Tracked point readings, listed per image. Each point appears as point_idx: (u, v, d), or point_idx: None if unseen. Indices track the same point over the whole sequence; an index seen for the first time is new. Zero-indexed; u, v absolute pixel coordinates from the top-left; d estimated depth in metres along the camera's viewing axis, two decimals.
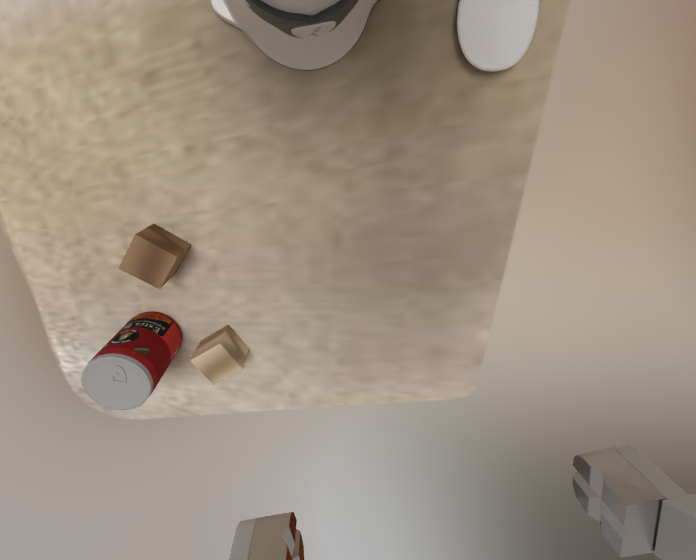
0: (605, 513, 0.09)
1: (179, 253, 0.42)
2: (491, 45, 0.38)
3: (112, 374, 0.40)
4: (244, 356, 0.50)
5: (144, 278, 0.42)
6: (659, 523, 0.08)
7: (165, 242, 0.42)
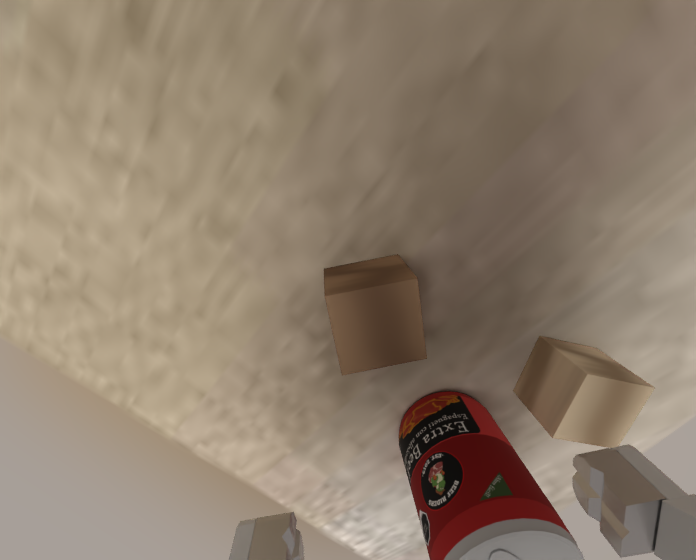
0: (605, 513, 0.09)
1: (409, 272, 0.19)
2: None
3: None
4: (618, 365, 0.24)
5: (391, 360, 0.20)
6: (658, 522, 0.08)
7: (370, 275, 0.20)
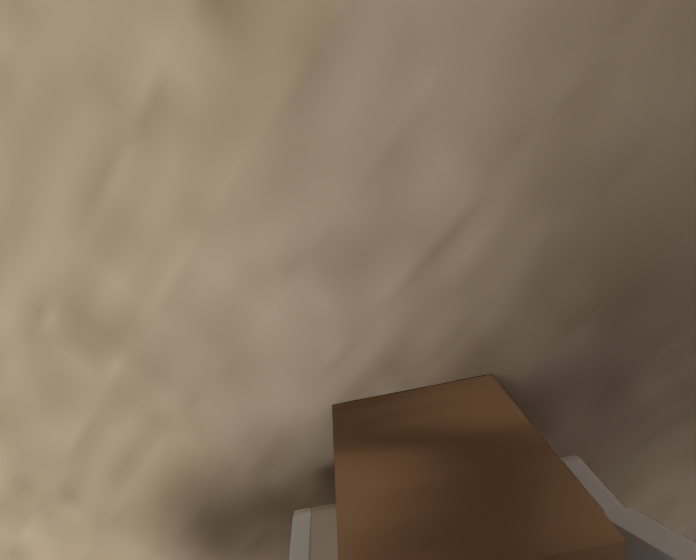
0: None
1: (573, 486, 0.07)
2: None
3: None
4: None
5: None
6: None
7: (455, 473, 0.08)
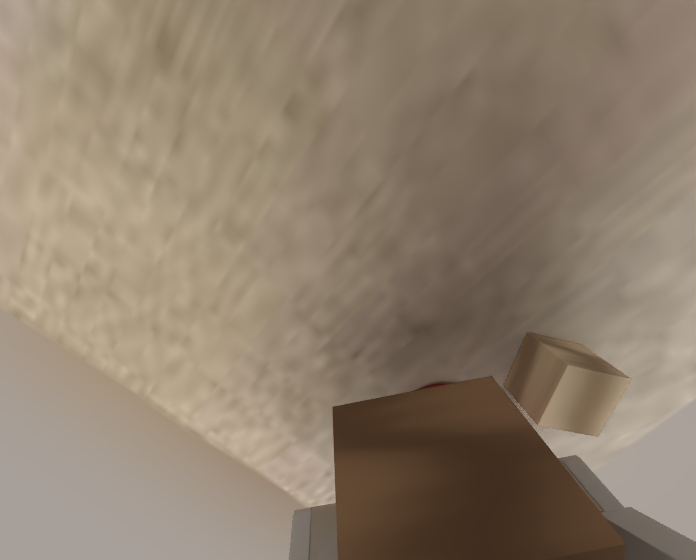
0: None
1: (573, 488, 0.07)
2: None
3: None
4: (599, 359, 0.26)
5: None
6: None
7: (455, 475, 0.08)
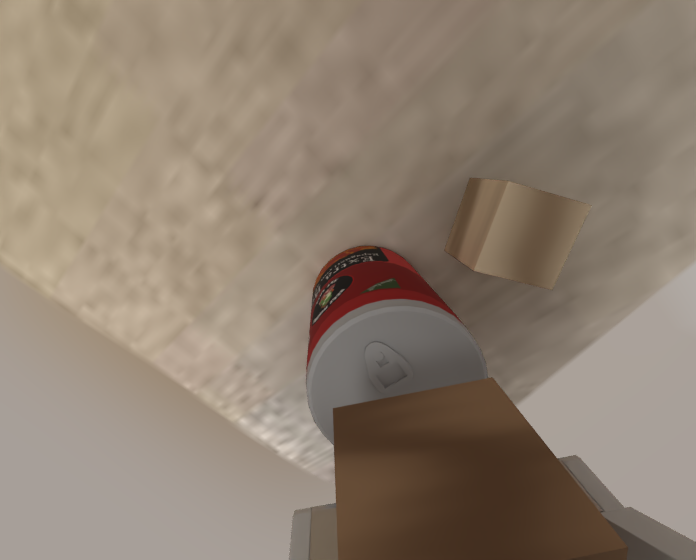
0: None
1: (575, 491, 0.07)
2: None
3: (371, 375, 0.14)
4: None
5: None
6: None
7: (456, 478, 0.08)
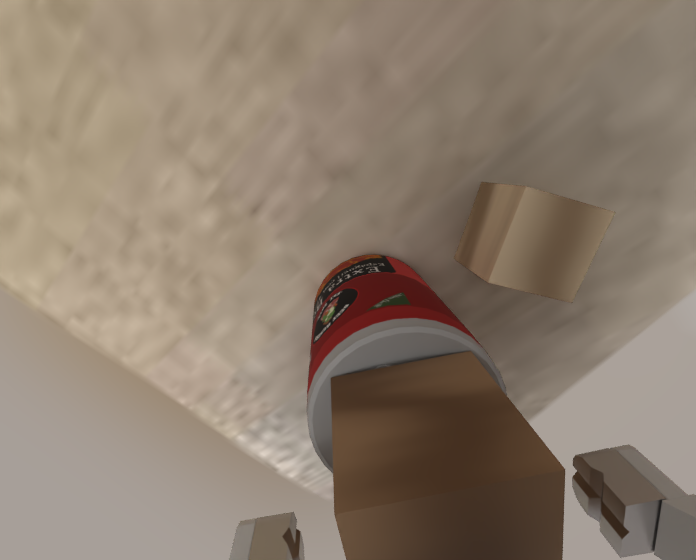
0: (605, 513, 0.09)
1: (529, 433, 0.08)
2: None
3: None
4: None
5: None
6: (658, 523, 0.08)
7: (433, 426, 0.09)
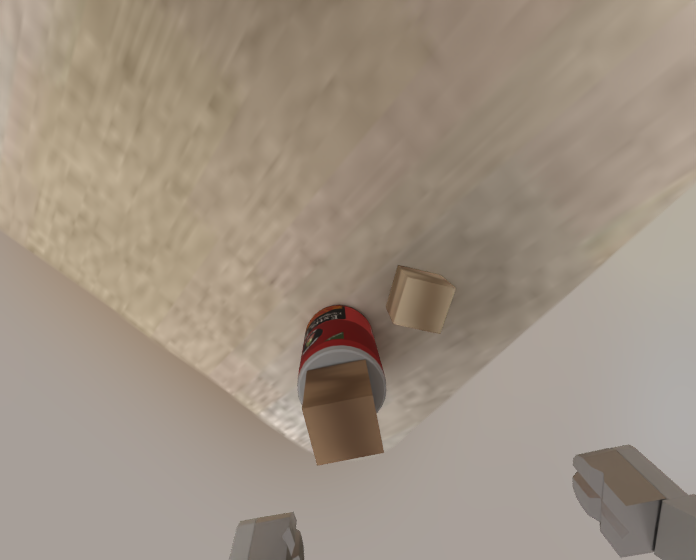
0: (605, 513, 0.09)
1: (368, 386, 0.25)
2: None
3: None
4: (444, 280, 0.36)
5: (355, 454, 0.25)
6: (658, 522, 0.08)
7: (339, 385, 0.26)
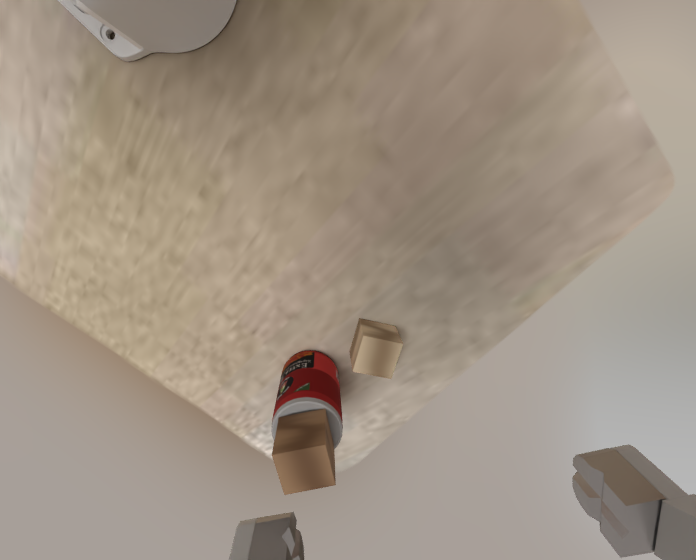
0: (605, 513, 0.09)
1: (324, 436, 0.33)
2: None
3: None
4: (396, 333, 0.44)
5: (313, 486, 0.33)
6: (658, 522, 0.08)
7: (302, 434, 0.33)
